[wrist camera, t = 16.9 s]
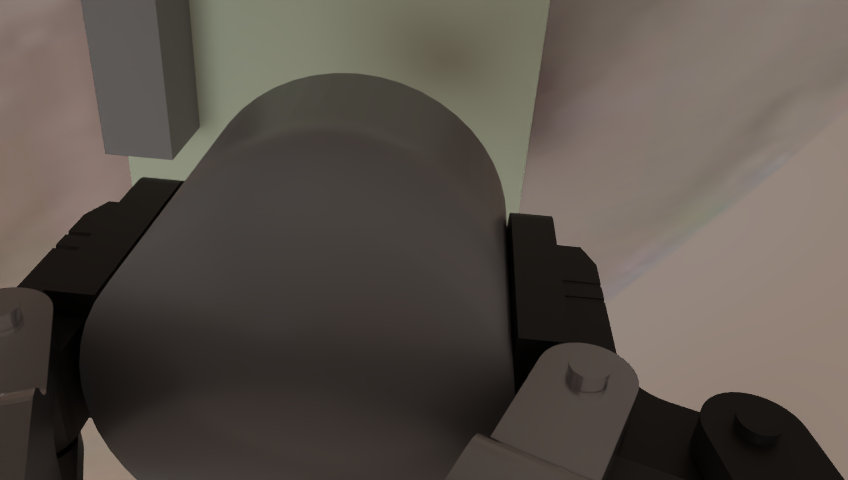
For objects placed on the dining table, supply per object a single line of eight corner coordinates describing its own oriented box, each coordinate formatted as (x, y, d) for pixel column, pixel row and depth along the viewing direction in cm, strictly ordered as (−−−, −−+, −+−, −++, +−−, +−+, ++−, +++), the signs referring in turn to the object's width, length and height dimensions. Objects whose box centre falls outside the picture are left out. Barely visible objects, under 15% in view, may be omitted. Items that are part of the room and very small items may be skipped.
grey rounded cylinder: (213, 327, 16) (111, 531, 11) (190, 57, 13) (41, 196, 9) (488, 353, 16) (488, 571, 11) (526, 88, 13) (547, 244, 8)
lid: (88, -246, 20) (19, -251, 17) (577, -207, 20) (593, -205, 17) (148, 213, 28) (108, 266, 25) (510, 248, 27) (512, 305, 24)
